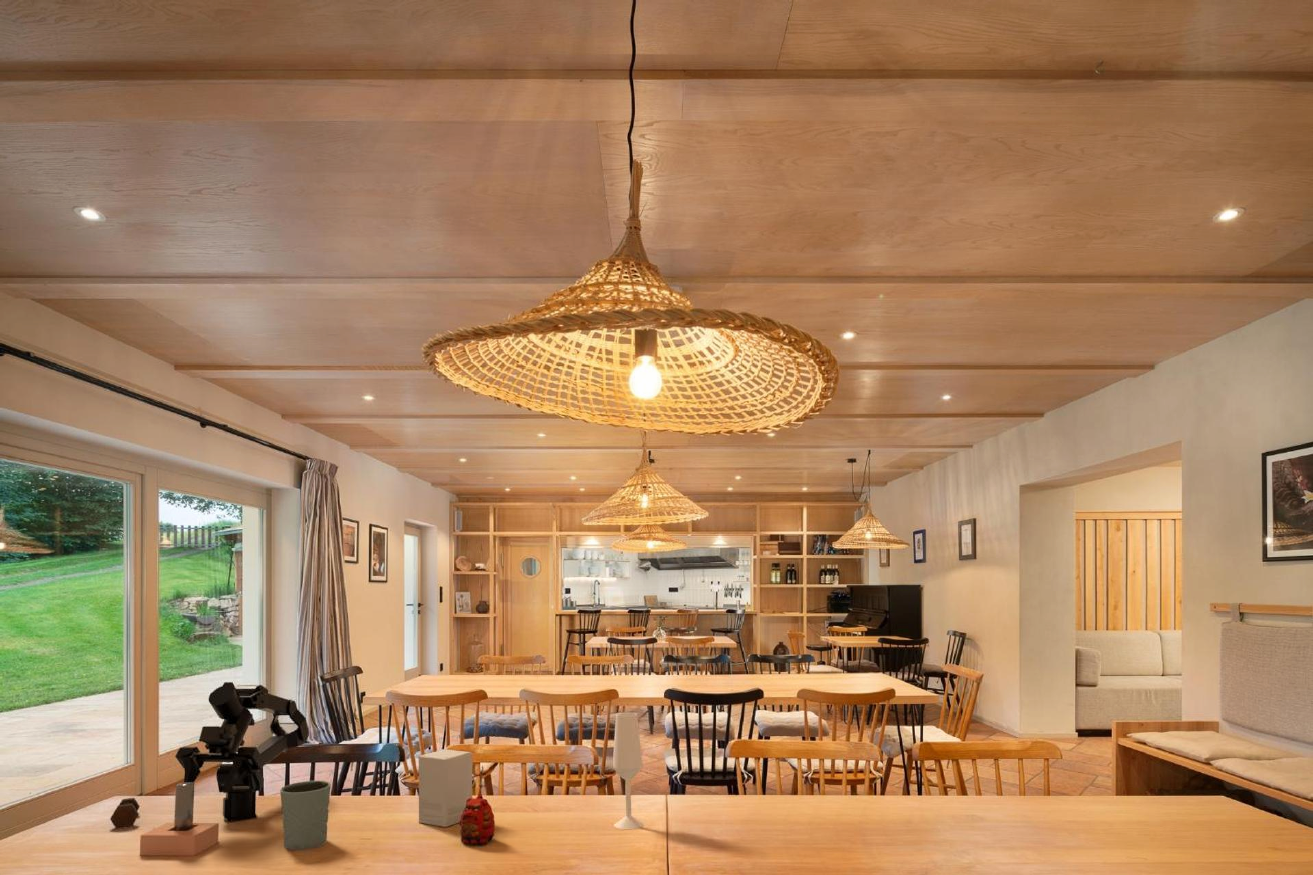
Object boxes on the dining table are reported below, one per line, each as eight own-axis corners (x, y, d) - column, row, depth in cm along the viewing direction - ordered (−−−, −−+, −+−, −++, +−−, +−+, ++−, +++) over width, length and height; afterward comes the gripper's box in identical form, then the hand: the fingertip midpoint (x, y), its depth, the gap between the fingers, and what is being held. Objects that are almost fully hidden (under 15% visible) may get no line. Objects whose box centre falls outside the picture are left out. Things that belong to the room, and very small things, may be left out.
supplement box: (473, 818, 220) (473, 751, 222) (445, 827, 213) (446, 759, 215) (445, 813, 225) (445, 748, 227) (417, 822, 218) (417, 755, 219)
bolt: (132, 820, 233) (127, 833, 220) (112, 811, 232) (105, 825, 218) (146, 797, 235) (142, 809, 222) (126, 788, 234) (121, 800, 220)
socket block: (166, 841, 207) (166, 822, 208) (218, 842, 206) (218, 823, 207) (139, 855, 199) (140, 835, 199) (193, 855, 197) (194, 835, 198)
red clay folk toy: (453, 844, 200) (453, 771, 202) (471, 835, 207) (470, 764, 209) (485, 847, 198) (484, 773, 199) (501, 838, 204) (501, 765, 206)
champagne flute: (608, 827, 210) (606, 716, 213) (621, 819, 216) (619, 711, 219) (636, 830, 207) (634, 717, 210) (648, 821, 213) (646, 712, 216)
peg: (183, 843, 206) (186, 781, 207) (195, 845, 204) (198, 782, 206) (169, 848, 203) (172, 785, 204) (181, 850, 201) (184, 786, 203)
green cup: (339, 838, 207) (340, 781, 208) (308, 853, 197) (309, 793, 199) (301, 835, 210) (302, 779, 211) (268, 849, 200) (269, 790, 202)
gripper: (181, 710, 220) (149, 771, 208) (258, 710, 218) (230, 771, 206) (200, 738, 227) (170, 799, 215) (274, 738, 225) (248, 799, 213)
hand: (204, 791), depth 212 cm, fingers open, 9 cm apart
